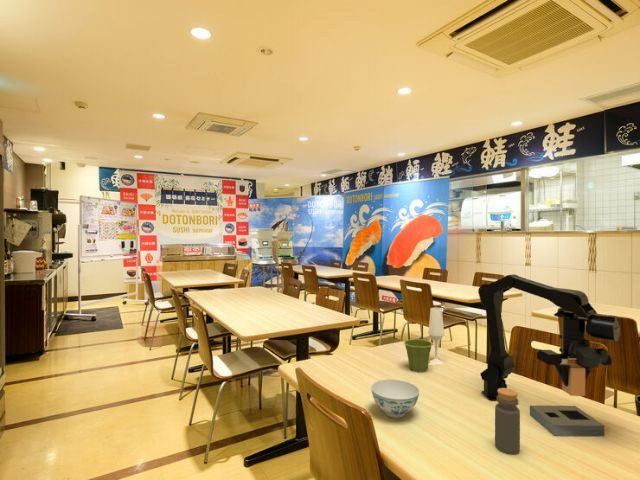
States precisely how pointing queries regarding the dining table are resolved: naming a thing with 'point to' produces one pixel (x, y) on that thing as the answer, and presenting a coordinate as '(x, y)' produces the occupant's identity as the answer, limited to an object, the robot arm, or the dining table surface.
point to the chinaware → (395, 396)
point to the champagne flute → (436, 330)
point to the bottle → (507, 422)
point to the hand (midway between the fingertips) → (573, 386)
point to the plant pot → (418, 353)
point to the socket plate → (566, 421)
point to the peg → (575, 381)
